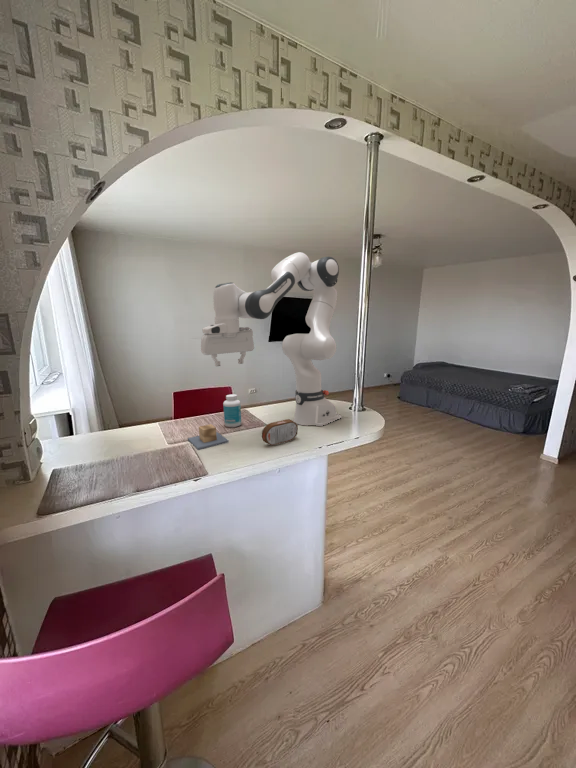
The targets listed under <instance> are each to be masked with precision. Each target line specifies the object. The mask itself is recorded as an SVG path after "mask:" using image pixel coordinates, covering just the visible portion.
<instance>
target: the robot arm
mask: <svg viewBox="0 0 576 768" xmlns="http://www.w3.org/2000/svg"><path fill="white" fill-rule="evenodd" d="M339 274H340V266H339V264H338V261H337V260H336V259H335V257H332V256H323V257H321V258H320V259H317V260H315V261H313V262H312V261H311V260H310V258H309V256H308V255H307V254H306V253H304V252H302V251H301V252H300V251H299V252H295V253H292V254H290V255H289V256H286V257H285V258H283V259H281V261H279V262H278V263H277V264H276V265H275V266H274V267H273V268H272V269H271V273H270V279H271V281H272V283H271V284H270V285H269V286H268V287H266V288H265V289H260V290H255V291H250V292H247V291H245V290H243V289H241V288H240V287H238V286H237V285H236V283H234V282H225V283H219V284H217V285H216V286H215V287H214V288H213V309H214V312H215V313H214V314H215V316H214V323H212V324H210V325H207V326H205V327H202V333H203V335H202V336H201V341H200V349H201V350H200V351H201V353H202V354H203V355H204V356H209V355H211V358H212V360H213V361H214V366H215V367H221V361H219V360H218V359H217V357H218V355H220V354H222V355H223V354H233V353H239V354H240V358H238V359H237V362H238V364H239V365H243V364H244V359H245V358H246V356H247V353H246V352H253V351H254V349H255V343H254V338H253V336H254V335H253V330H252V328H250V327H249V326H246V327H245V326H244V327H241V326H240V319H255V320H256V319H257V320H265V319H267V318H269V316H270V315H272V313H273V311H274V309H275V307H276V306H277V304H278V302H279V301H281V300H282V299H283V298H284V297H285V296H286V295H288V293H289V292H290V291H291V290H292V288H293V287H294V286H296V285H297V286H298V287H299V289H301V290H302V291H305V292H311V291H313V297H312V299H311V302H310V304H309V307H308V310H307V313H306V315H305V323H306V325H307V326H308V327H309V328H310V331H309V333H293V334H288V335H286V336H285V337H284V339H283V340H282V344H281V347H282V352H283V354H284V355H286V357H287V358H288V359H289V361H290V362H291V364H292V366H293V370H294V374H295V382H296V383H295V385H296V387H295V412H294V417H293V419H292V421H294V422H295V423H296V424H297V425H301V426H308V425H316V426H315V427H323V425H324V426H326V425H328V423H329V424H331V423H333V421H334V422H336V421H335V420H337V419H339V420H341V419H342V415H341V414H339V413H337V408H336V405H335V404H334V403H332V401H330V400H329V399H327V398H326V397H325V396H328V395H329V394H330V393H329V390H327V389H326V390H324V389H322V373H321V371H320V370H319V368H317V367H316V366H315V365H314V364H313V362H312V361H313V360H314V361H326V360H330V359H332V358H333V357H334V356H335V354H336V352H337V343H336V340H335V339H334V337H333V336H332V335H331V332H330V326H331V322H332V318H333V315H334V312H335V310H336V306H337V302H338V300H337V299H338V291H337V289H336V288H335V287H334V286H336V284H337V283H338V278H339ZM239 318H240V319H239ZM337 415H338V416H337ZM340 418H341V419H340ZM337 421H338V420H337ZM330 422H331V423H330Z"/></svg>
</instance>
